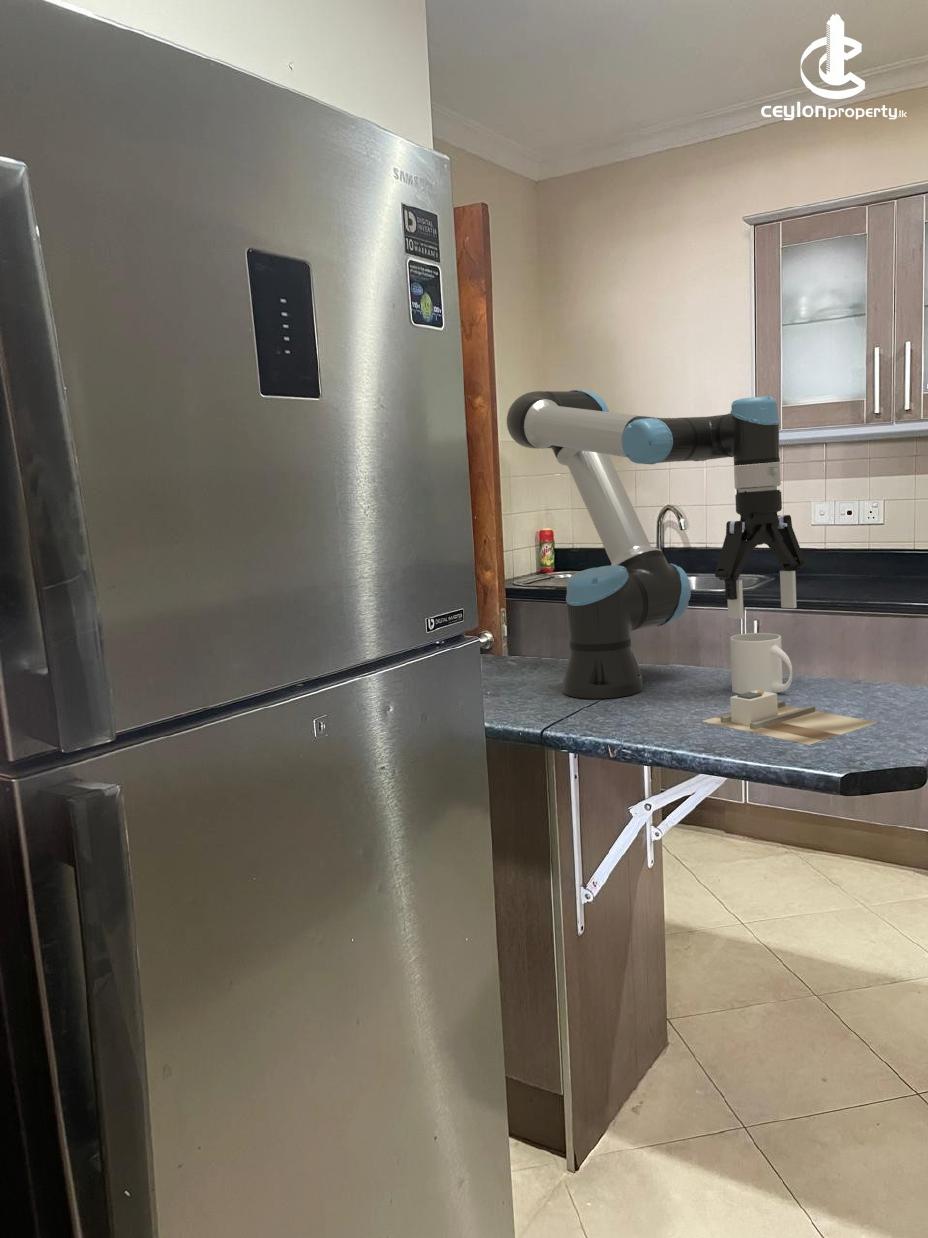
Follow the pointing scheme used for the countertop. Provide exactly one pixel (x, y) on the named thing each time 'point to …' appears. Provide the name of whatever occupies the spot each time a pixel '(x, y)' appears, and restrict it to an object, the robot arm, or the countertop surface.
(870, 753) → the countertop surface
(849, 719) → the subfloor panel
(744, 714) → the block
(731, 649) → the mug
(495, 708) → the countertop surface
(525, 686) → the countertop surface
